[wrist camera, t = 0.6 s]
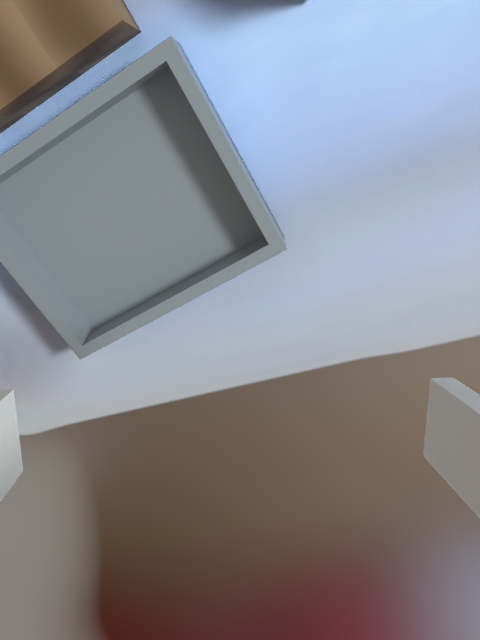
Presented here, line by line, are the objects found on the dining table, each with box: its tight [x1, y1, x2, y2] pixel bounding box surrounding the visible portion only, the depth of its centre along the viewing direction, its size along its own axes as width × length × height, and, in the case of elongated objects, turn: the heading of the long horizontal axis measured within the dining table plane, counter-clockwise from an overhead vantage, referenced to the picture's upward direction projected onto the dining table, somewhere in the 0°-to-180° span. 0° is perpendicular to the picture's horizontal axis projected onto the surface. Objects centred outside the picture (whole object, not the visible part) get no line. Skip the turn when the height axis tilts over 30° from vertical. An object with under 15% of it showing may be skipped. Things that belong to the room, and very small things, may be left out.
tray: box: [0, 36, 287, 359], centre depth 36 cm, size 20×16×4 cm
